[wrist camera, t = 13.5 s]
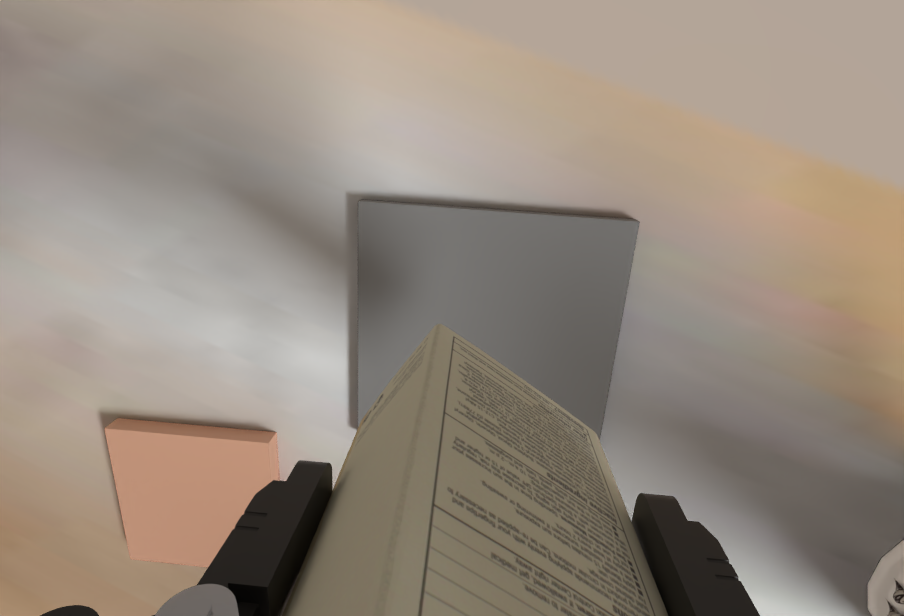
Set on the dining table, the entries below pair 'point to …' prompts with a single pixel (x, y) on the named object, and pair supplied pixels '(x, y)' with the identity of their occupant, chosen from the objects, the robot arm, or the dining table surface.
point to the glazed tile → (186, 485)
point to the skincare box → (473, 505)
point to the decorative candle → (888, 585)
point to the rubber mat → (495, 294)
